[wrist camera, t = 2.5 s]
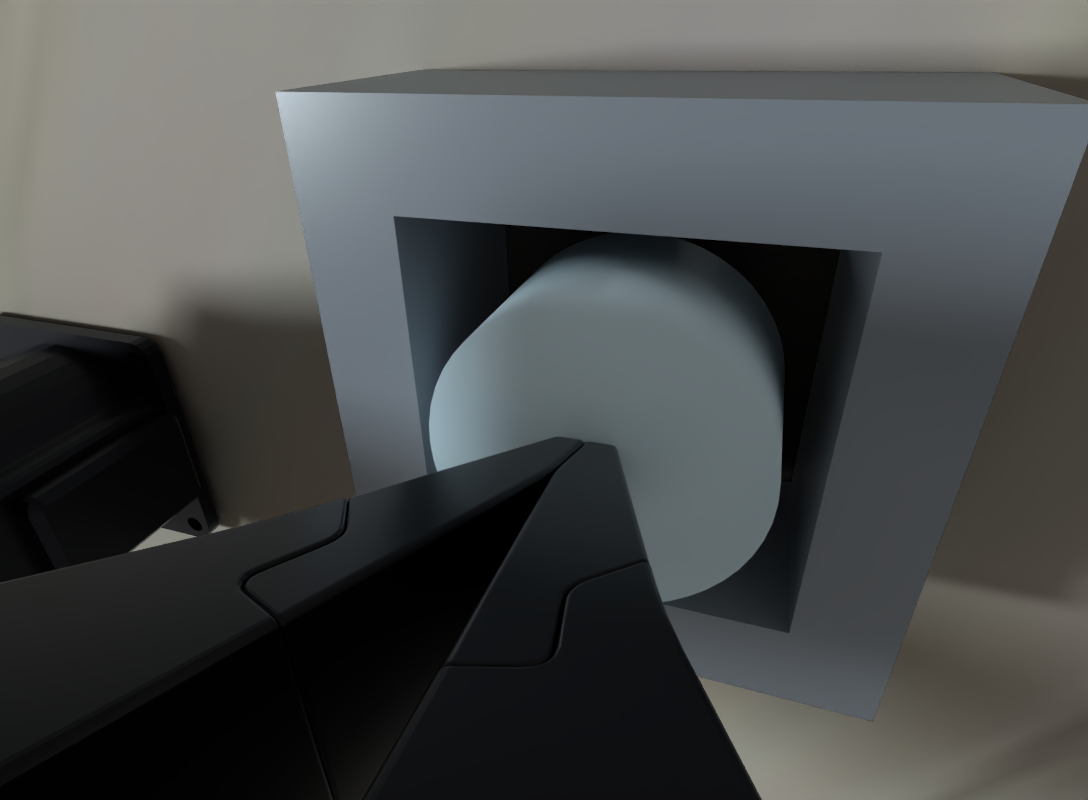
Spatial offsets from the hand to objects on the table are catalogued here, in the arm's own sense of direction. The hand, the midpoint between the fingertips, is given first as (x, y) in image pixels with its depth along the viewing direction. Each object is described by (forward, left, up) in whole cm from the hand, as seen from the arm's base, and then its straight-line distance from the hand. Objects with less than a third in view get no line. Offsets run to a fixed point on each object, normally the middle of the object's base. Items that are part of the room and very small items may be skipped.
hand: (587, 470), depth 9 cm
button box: (0, 0, -5) cm, 5 cm away
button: (0, 0, -3) cm, 3 cm away
